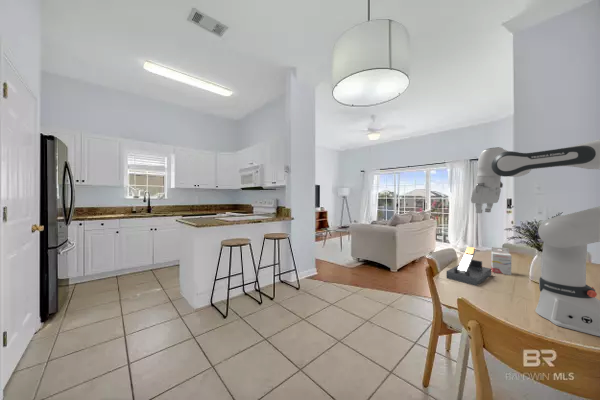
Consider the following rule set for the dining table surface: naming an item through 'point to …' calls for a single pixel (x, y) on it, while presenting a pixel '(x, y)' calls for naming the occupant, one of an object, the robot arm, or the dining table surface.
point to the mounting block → (470, 273)
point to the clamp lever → (466, 260)
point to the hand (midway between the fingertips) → (483, 212)
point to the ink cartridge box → (501, 261)
